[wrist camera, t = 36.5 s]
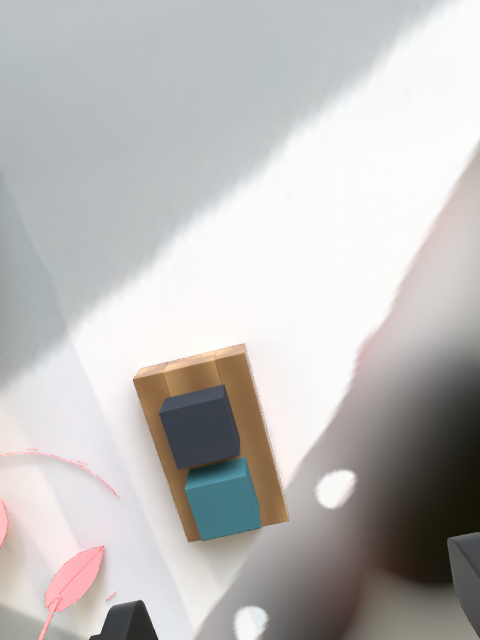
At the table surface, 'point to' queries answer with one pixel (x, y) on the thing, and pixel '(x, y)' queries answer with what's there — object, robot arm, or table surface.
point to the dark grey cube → (200, 427)
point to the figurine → (64, 570)
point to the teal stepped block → (223, 499)
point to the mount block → (247, 412)
